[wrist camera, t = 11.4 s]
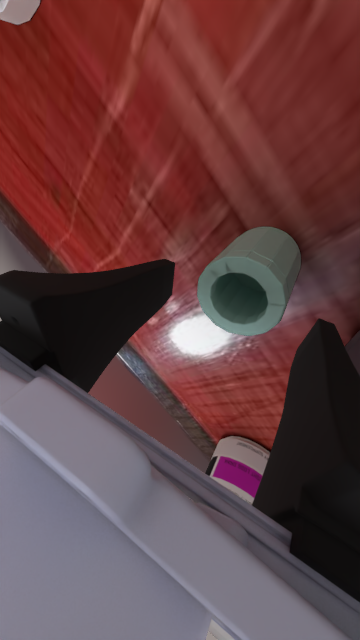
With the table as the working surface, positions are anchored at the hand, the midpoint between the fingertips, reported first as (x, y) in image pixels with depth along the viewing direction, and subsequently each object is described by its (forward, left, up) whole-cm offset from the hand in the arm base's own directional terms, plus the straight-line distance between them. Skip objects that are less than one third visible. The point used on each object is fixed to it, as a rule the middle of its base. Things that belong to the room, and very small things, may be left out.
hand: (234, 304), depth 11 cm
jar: (0, 0, -5) cm, 5 cm away
